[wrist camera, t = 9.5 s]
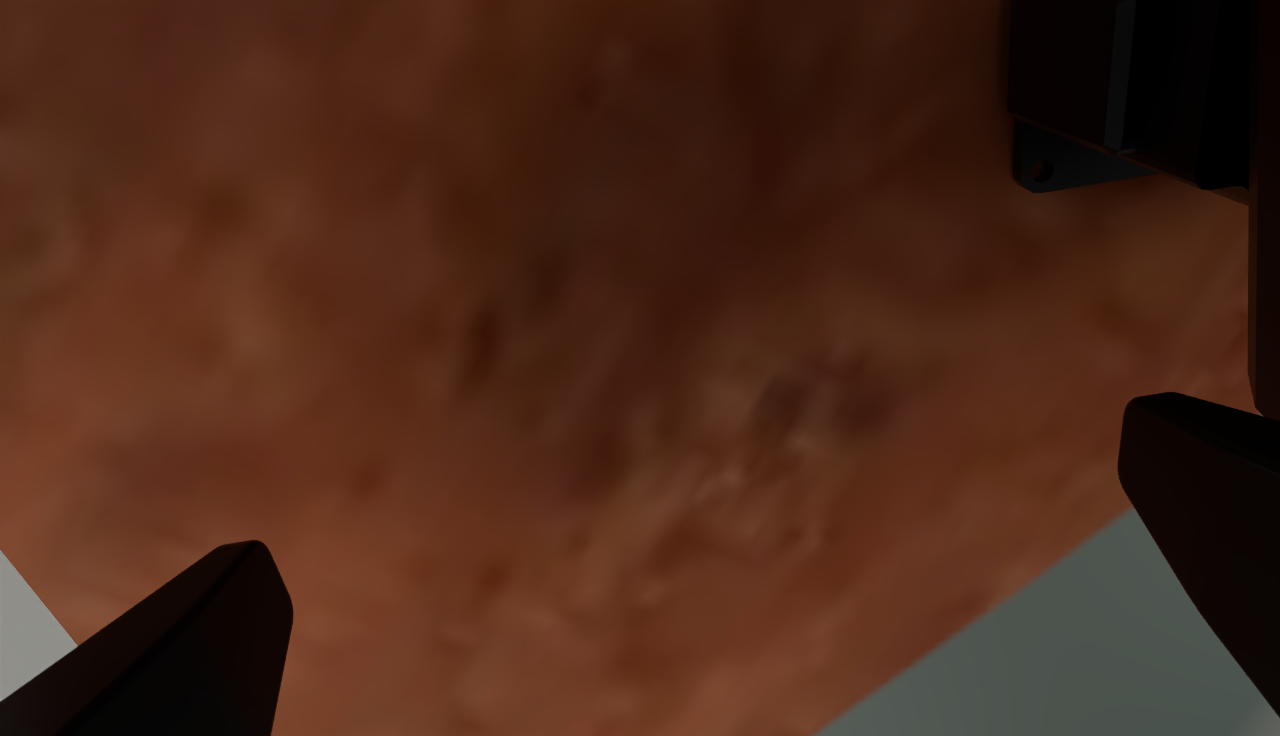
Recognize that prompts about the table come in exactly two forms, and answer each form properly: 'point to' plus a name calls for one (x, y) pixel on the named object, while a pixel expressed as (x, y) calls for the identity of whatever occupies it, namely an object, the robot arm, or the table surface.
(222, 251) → the table surface
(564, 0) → the table surface
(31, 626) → the crown molding
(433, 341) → the table surface
